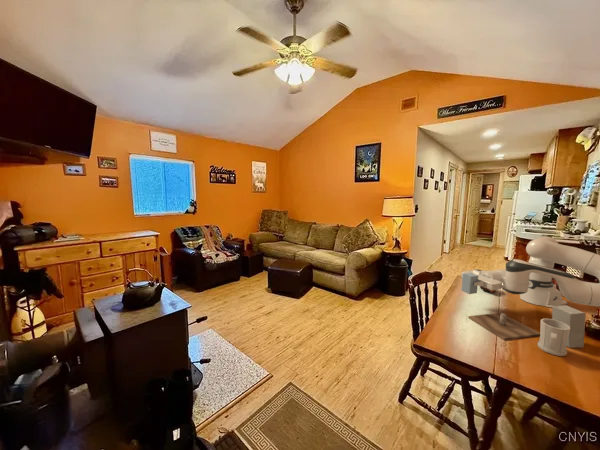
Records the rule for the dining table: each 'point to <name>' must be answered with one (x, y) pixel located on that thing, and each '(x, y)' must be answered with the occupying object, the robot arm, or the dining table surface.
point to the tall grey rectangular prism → (469, 283)
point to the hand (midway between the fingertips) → (468, 281)
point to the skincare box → (571, 324)
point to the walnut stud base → (504, 326)
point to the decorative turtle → (487, 289)
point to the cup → (553, 337)
